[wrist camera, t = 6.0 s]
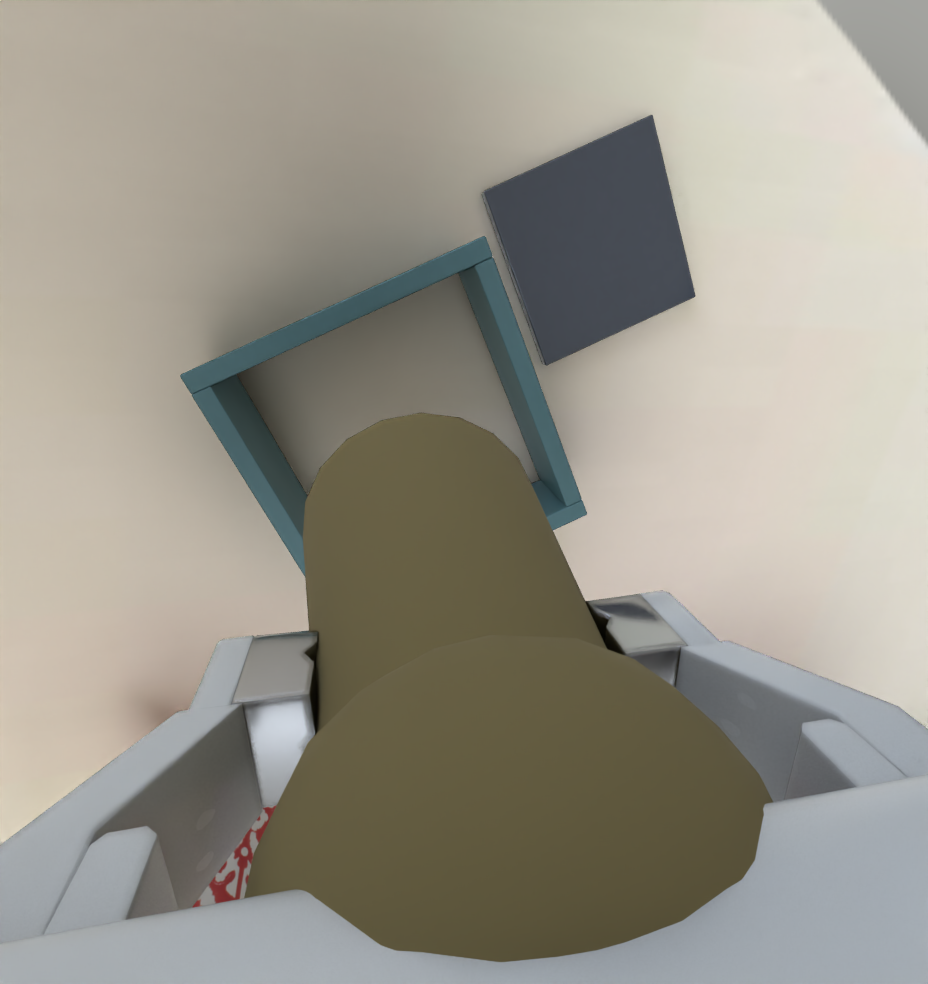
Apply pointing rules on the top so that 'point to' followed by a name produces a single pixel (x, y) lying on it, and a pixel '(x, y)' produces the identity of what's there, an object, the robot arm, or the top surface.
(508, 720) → the cork
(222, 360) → the tub
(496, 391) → the top surface
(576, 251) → the coaster
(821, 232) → the top surface
